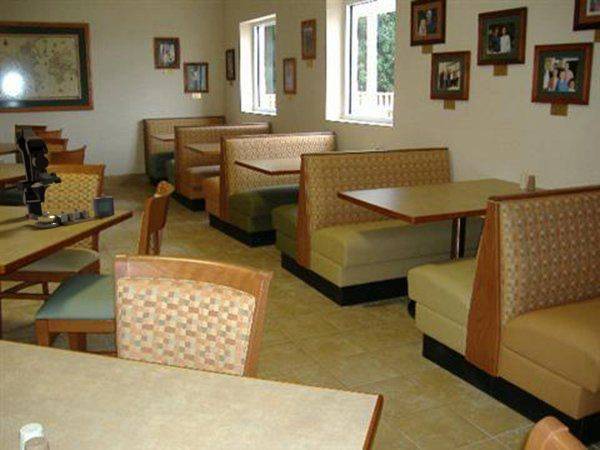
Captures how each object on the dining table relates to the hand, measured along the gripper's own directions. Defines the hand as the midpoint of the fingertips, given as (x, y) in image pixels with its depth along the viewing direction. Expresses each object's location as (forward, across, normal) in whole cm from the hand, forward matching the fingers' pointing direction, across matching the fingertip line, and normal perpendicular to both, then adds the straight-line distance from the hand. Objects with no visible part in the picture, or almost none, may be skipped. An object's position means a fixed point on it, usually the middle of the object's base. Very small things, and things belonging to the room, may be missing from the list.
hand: (41, 201), depth 277 cm
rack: (+10, +10, -10) cm, 17 cm away
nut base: (+10, -4, -9) cm, 14 cm away
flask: (+10, +25, -11) cm, 29 cm away
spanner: (+8, +8, -10) cm, 16 cm away
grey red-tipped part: (+8, -4, -5) cm, 10 cm away
